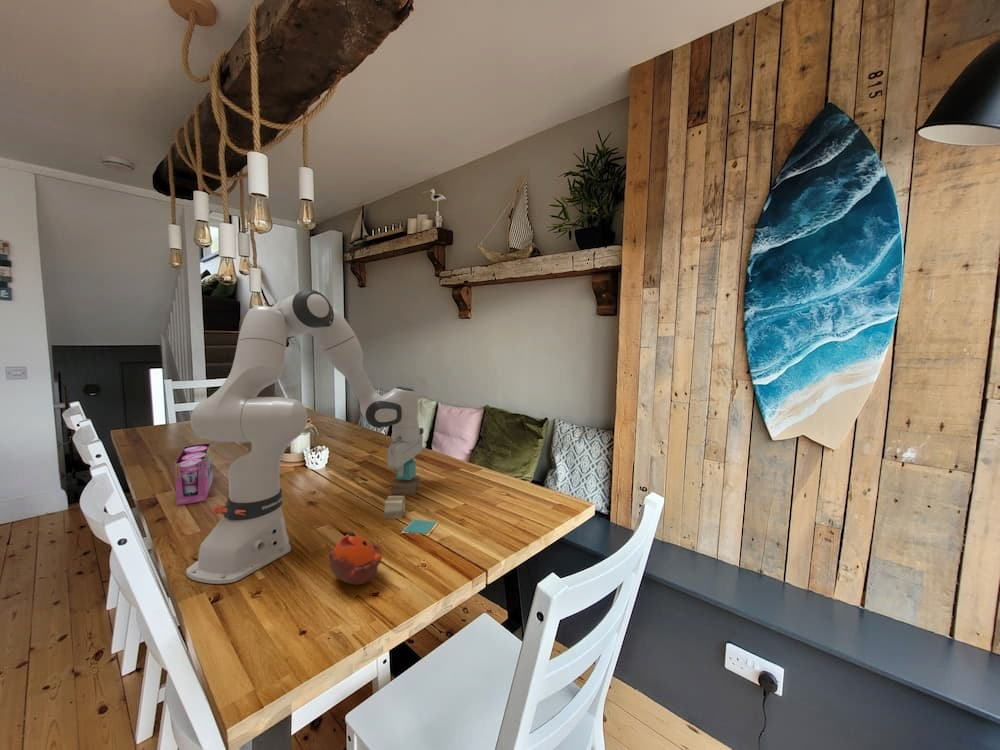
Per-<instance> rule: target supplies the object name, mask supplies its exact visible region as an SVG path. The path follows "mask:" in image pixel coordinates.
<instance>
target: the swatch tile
mask: <svg viewBox="0 0 1000 750" xmlns="http://www.w3.org/2000/svg"><path fill="white" fill-rule="evenodd" d="M413 519H414V520H412V521H410V523H408V525H407V526H406V527H404V529H403V530H402V531H401V534H402V533H409V532H411V533H422V534H423V533H424V534H427V533H428V532H429V531H430V530H431V529H432V528H433V526H434V525H435V524H436V523H437V522H438V521H432V520H431V521H430V520H422V519H415V518H413Z"/></svg>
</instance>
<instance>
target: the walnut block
mask: <svg viewBox="0 0 1000 750" xmlns="http://www.w3.org/2000/svg"><path fill="white" fill-rule="evenodd" d="M420 487H421V476H417V475H415V476H414V477H413V478H411V479H410V480H404V479H396V478H395V479H394V480H393V481H392V483H391V496H416V495H415V494H417V493H416V492H418V491H419V489H420ZM417 490H418V491H417Z"/></svg>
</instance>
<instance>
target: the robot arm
mask: <svg viewBox="0 0 1000 750" xmlns="http://www.w3.org/2000/svg"><path fill="white" fill-rule="evenodd" d="M241 324H242V325H241V327H240V330H239V333H238V336H237V337H238V339H237V344H236V349H235V353H234V359H233V362H232V366H231V368H230V369H231V370H230V372H229V375H228V376H227V378H226V379H225V380H224V382H223V384H221V386H220V387H219V388H218V389H217V390H216V391H215V392H214V393H212V394H211V395H210V396H209V397H207V398H205V399H204V400H203V399H202V401H200V402H198V403H197V405H196V406H195V407H194V408H193V411H192V412H191V415H190V426H191V430H192V432H193V433H194V434H195V436H196V437H197V438H199V439H202V440H207V441H211V442H212V441H213V442H218V443H229V442H230V443H232V442H233V443H235V442H236V443H237V442H241V443H242V442H249V443H250V444H251V448H250V451H249V452H248V453H246V454H243V455H241V456H239V457H238V458H236V459H235V460H234V461H233V462H232V463H231V464H230V466H229V467H228V471H227V481H228V482H227V483H228V498H227V500H226V503H225V505H220V504H217V505H215V506H214V507H213V510H212V511H213V513H214V514H215V515H221V516H222V515H223V517H222V518H221V519H220V521H219V522H217V524H216V525H215V527H214V528H213V529H212V530H211V531H210V533H208V535H207V536H206V537H205V539H204V540H203V541H202V543H201V544H200V546H199V549H198V559H197V560H196V561H195V562H194V563H193V564H191V565H189V567H187V568H186V570H185V573H186V577H187V578H189V579H190V580H192V581H195V582H199V583H204V584H205V583H206V584H212V585H213V584H216V585H217V584H218V585H221V584H229V583H235V582H237V581H240V580H242V579H243V578H246V577H247V576H249V575H250V574H252V573H254V572H256V571H258V570H260V569H261V568H263V567H265V566H267V565H269V564H270V563H272V562H274V561H276V560H277V559H279V558H281V557H283V556H284V555H286V554H288V553H290V552H291V551H292V547H291V543H290V537H289V535H288V532H287V528H286V521H285V517H284V514H283V511H282V505H283V503H284V502H283V496H284V495H283V491H282V489H281V488H280V484H281V482H280V481H281V480H280V479H281V478H280V477H281V476H280V475H281V474H280V473H281V472H280V470H281V467H280V466H281V462H282V458H283V455H284V452H285V451H286V449H287V447H289V445H290V444H291V443H292V442H293V441H295V440H296V439H298V437H299V436H300V435H302V433H304V431H305V429H306V428H307V424H308V420H309V418H308V416H309V415H308V411H307V409H306V406H305V405H304V404H303V403H302V402H301V401H300V400H299V399H294V398H289V397H282V396H259V394H260V393H261V392H262V390H264V389H265V388H267V387H269V386H271V385H273V384H275V383H276V382H278V381H279V380H280V379H281V377H282V375H283V374H284V373H283V371H284V366H285V365H284V364H285V359H286V358H285V357H286V349H287V339H289V340H290V339H292V338H295V337H298V336H300V335H301V336H302V335H305V334H307V333H308V334H310V335H311V336H312V337H313V338H314V339H315V340H316V342H317V345H318V346H319V348H320V349H321V351H322V353H323V354H324V357H326V359H327V360H328V362H329V363H330V364H331V366H333V368H334V369H335V370H337V371H338V372H339V373H341V374H342V376H343V377H344V378H345V380H347V383H348V384H349V385H350V387H351V389H352V391H353V392H354V394H355V397H357V402H358V411H359V414H360V416H361V418H363V419H364V420H365V421H366V422H367V423H368V424H369V425H370V426H371V427H374V428H377V429H378V428H379V429H381V428H387V427H390V426H392V427H391V428H392V429H391V433H392V436H391V438H392V441H391V443H390V445H389V446H388V449H387V458H386V459H387V460H386V463H387V467H388V469H389V468H390V469H396V468H397V470H398V476H403V475H405V470H404V469H403V466H404V463H406V462H407V461H415V459H416V458H415V457H416V456H417V455H419V454H421V452H422V449H423V440H424V438H423V437H424V436H423V434H424V433H425V431H424V429H425V428H424V427H421V426H419V421H418V416H419V399H418V394H417V391H416V390H414V389H413V388H410V387H407V386H395V387H394V388H393V389H391V390H390V391H389V392H387V393H385V394H383V395H382V394H381V393H379V392H378V391H377V390H375V388H374V386H373V384H372V383H371V380H370V379H369V377H368V375H367V373H366V372H365V369H364V365H363V363H364V362H363V360H364V352H363V349H362V346H361V343H360V341H359V340H358V337H357V335H356V333H355V332H354V330H353V329H352V327H351V325H350V324H349V323H348V321H347V320H346V318H345V317H344V316H343V315H342V314H341V313H340V311H339V310H337V309H335V308H333V306H332V305H331V302H330V301H329V300H328V298H327V297H326V296H325V295H324V294H322V293H320V291H317V290H314V289H306V290H301V291H298V292H296V293H295V294H293V295H290V296H287V297H284V298H282V299H280V300H279V301H277V302H276V303H275V304H273V305H270V306H268V305H257V306H254V307H251V308H250V309H249V310H248V311H247V313H246V315H245V317H244V319H243V320H242V323H241Z"/></svg>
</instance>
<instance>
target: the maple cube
mask: <svg viewBox="0 0 1000 750" xmlns="http://www.w3.org/2000/svg"><path fill="white" fill-rule="evenodd" d="M405 496H406V495H388V496H387V497H386V499H385V502H384V519H402V518H403V517H402V516H404V514H405V512H406V505H405V504H406V498H405ZM404 511H405V512H404Z"/></svg>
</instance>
